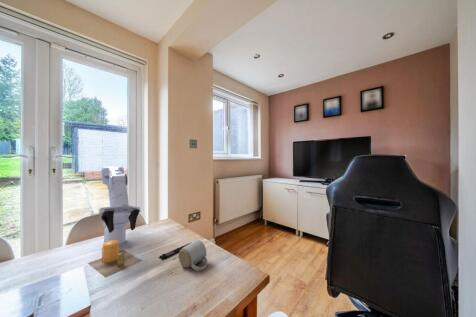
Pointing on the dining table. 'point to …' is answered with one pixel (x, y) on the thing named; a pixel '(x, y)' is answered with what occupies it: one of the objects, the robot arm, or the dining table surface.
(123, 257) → the board
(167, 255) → the electric trimmer
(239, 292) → the dining table surface
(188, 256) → the ceramic mug
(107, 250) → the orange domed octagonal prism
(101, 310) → the dining table surface
